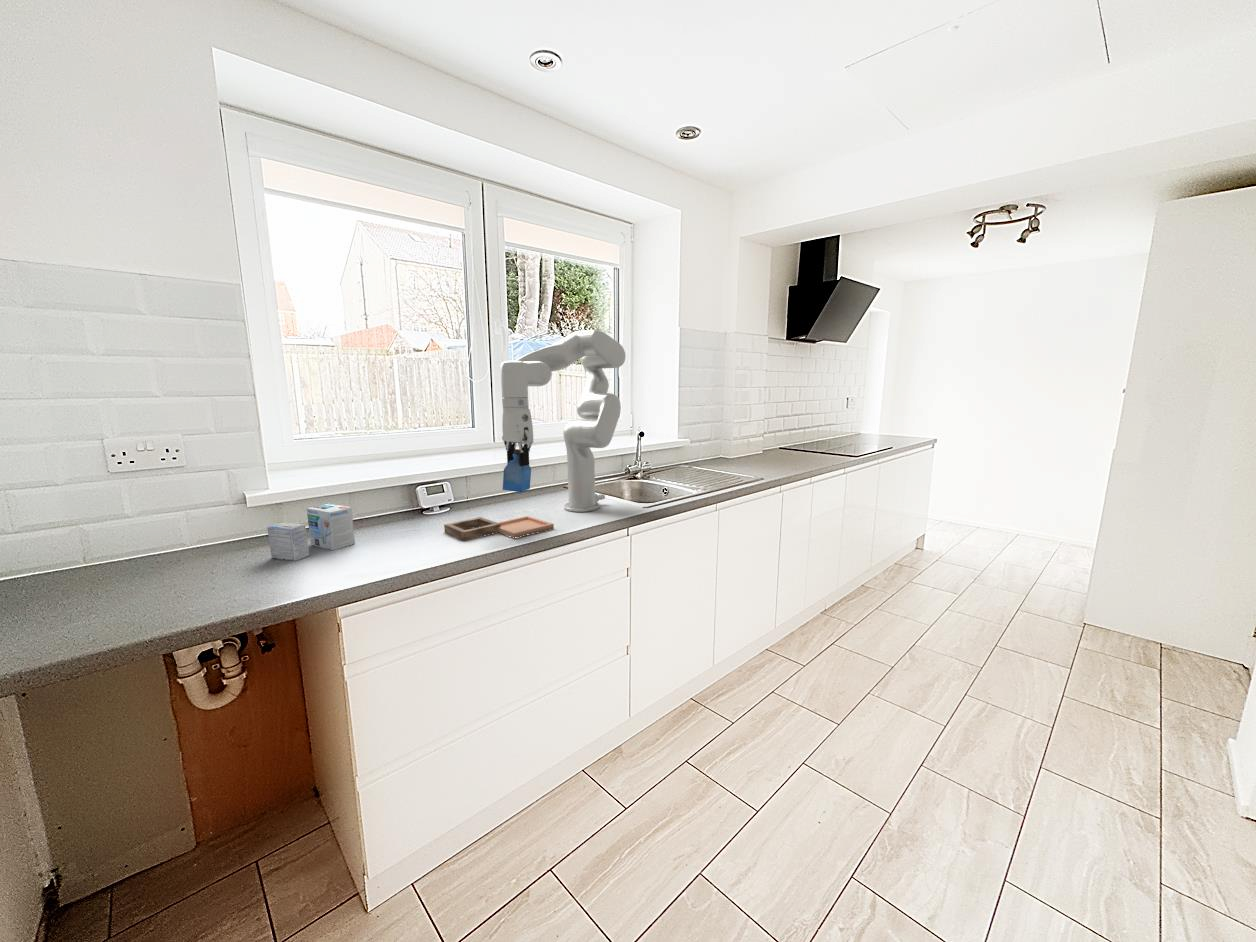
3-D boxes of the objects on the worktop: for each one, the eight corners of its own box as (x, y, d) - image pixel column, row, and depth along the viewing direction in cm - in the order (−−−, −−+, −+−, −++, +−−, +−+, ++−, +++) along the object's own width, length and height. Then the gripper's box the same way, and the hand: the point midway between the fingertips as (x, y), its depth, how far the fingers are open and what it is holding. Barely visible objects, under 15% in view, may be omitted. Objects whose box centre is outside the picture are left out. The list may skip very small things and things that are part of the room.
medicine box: (310, 555, 132) (306, 524, 130) (294, 561, 127) (290, 528, 126) (286, 553, 134) (282, 522, 132) (270, 559, 130) (266, 526, 128)
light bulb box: (309, 545, 141) (305, 508, 139) (333, 538, 147) (329, 502, 145) (333, 550, 136) (328, 512, 134) (356, 543, 142) (352, 506, 140)
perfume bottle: (529, 488, 155) (532, 450, 153) (522, 492, 149) (525, 452, 147) (510, 485, 156) (513, 447, 154) (502, 489, 150) (505, 450, 148)
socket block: (480, 524, 160) (480, 516, 159) (500, 531, 151) (500, 523, 151) (444, 532, 151) (444, 524, 151) (463, 540, 143) (463, 532, 143)
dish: (527, 520, 164) (527, 515, 164) (553, 528, 154) (553, 523, 154) (489, 529, 154) (489, 524, 154) (514, 538, 144) (514, 533, 144)
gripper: (543, 404, 144) (545, 466, 147) (510, 403, 156) (513, 460, 159) (520, 404, 139) (523, 469, 142) (489, 403, 151) (492, 463, 154)
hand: (518, 463), depth 151 cm, fingers closed on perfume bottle, 5 cm apart
